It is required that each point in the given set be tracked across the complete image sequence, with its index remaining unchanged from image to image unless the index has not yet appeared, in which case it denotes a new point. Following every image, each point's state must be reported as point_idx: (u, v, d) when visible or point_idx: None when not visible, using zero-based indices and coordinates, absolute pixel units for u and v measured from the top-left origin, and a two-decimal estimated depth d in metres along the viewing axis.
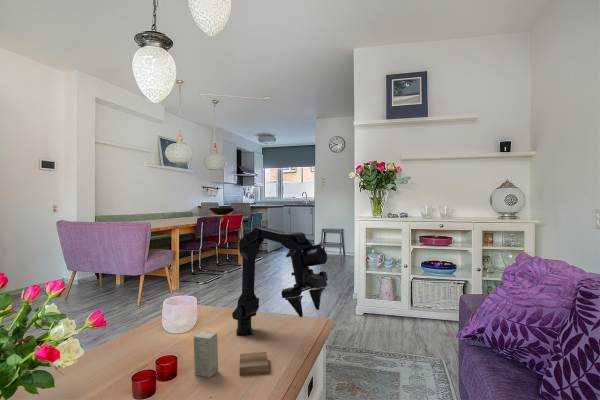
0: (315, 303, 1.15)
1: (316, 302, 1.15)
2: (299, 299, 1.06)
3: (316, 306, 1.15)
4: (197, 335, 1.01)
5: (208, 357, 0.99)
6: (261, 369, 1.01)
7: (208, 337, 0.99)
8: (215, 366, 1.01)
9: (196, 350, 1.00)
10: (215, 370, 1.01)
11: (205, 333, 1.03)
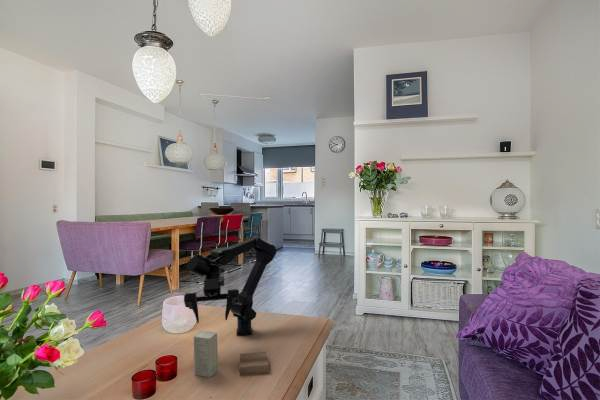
0: None
1: None
2: (193, 303, 1.10)
3: (225, 316, 1.11)
4: (197, 335, 1.01)
5: (208, 357, 0.99)
6: (261, 369, 1.01)
7: (208, 337, 0.99)
8: (215, 366, 1.01)
9: (196, 350, 1.00)
10: (215, 370, 1.01)
11: (205, 333, 1.03)
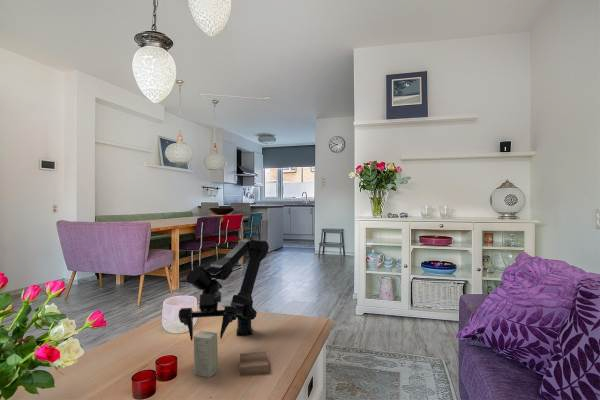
0: (221, 331, 1.07)
1: (221, 330, 1.06)
2: (187, 319, 1.06)
3: None
4: (197, 335, 1.01)
5: (208, 357, 0.99)
6: (261, 369, 1.01)
7: (208, 337, 0.99)
8: (215, 366, 1.01)
9: (196, 350, 1.00)
10: (215, 370, 1.01)
11: (205, 333, 1.03)
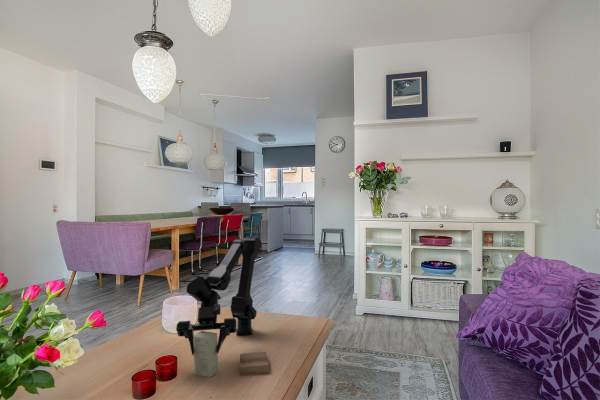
0: None
1: None
2: (188, 333, 1.02)
3: (217, 349, 1.02)
4: (197, 335, 1.01)
5: (208, 357, 0.99)
6: (261, 369, 1.01)
7: (208, 337, 0.99)
8: (215, 366, 1.01)
9: (196, 350, 1.00)
10: (215, 370, 1.01)
11: (205, 333, 1.03)
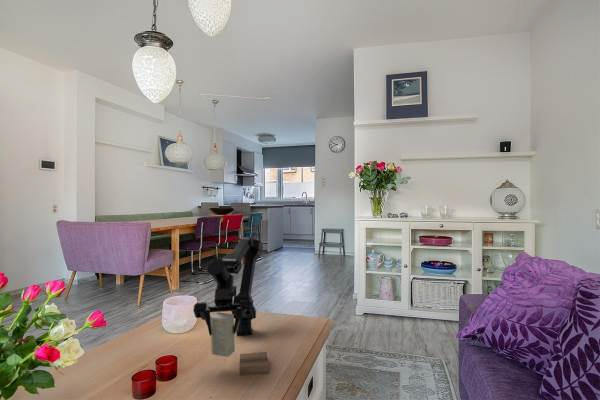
0: (234, 327, 1.04)
1: None
2: (205, 314, 1.03)
3: (234, 330, 1.03)
4: (214, 316, 1.03)
5: (225, 337, 1.00)
6: (261, 369, 1.01)
7: (225, 318, 1.01)
8: (232, 346, 1.03)
9: (213, 330, 1.02)
10: (232, 350, 1.03)
11: (222, 314, 1.04)
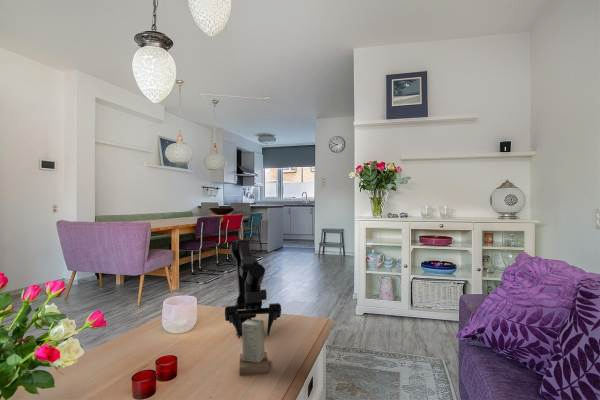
0: (267, 329, 1.06)
1: (267, 328, 1.06)
2: (234, 317, 1.05)
3: (267, 332, 1.05)
4: (245, 322, 1.05)
5: (257, 343, 1.03)
6: (261, 369, 1.01)
7: (257, 324, 1.03)
8: (263, 352, 1.05)
9: (245, 337, 1.04)
10: (262, 356, 1.05)
11: (252, 320, 1.06)
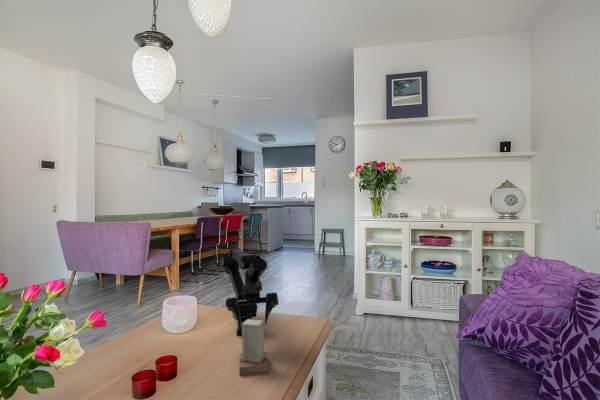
0: None
1: (265, 316, 1.15)
2: (234, 308, 1.15)
3: (265, 320, 1.14)
4: (245, 322, 1.05)
5: (257, 343, 1.03)
6: (261, 369, 1.01)
7: (256, 324, 1.03)
8: (263, 352, 1.05)
9: (244, 337, 1.04)
10: (262, 356, 1.05)
11: (252, 320, 1.06)
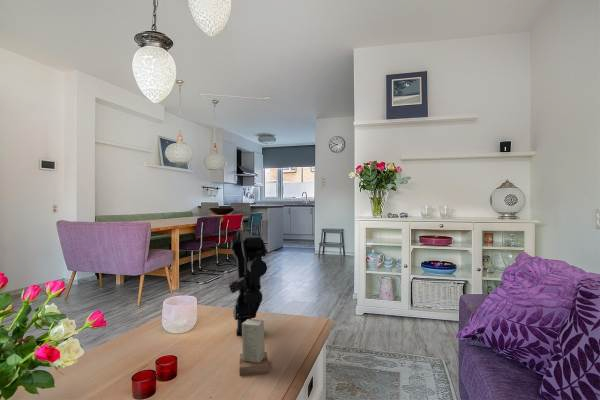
0: None
1: None
2: None
3: None
4: (245, 322, 1.05)
5: (257, 343, 1.03)
6: (261, 369, 1.01)
7: (256, 324, 1.03)
8: (263, 352, 1.05)
9: (244, 337, 1.04)
10: (262, 356, 1.05)
11: (252, 320, 1.06)
